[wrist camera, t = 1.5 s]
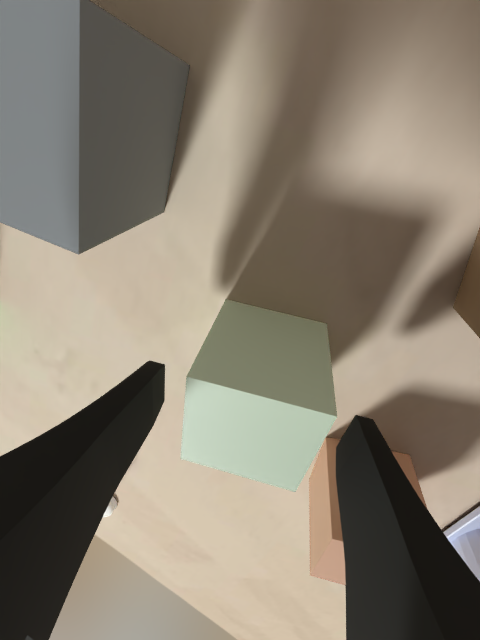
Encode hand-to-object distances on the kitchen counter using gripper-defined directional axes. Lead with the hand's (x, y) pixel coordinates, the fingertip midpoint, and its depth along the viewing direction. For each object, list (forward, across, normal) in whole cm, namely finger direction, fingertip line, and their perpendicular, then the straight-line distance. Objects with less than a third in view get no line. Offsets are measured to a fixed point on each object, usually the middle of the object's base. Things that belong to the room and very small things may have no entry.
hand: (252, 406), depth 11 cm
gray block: (+4, +7, -8) cm, 11 cm away
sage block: (+4, 0, 0) cm, 4 cm away
